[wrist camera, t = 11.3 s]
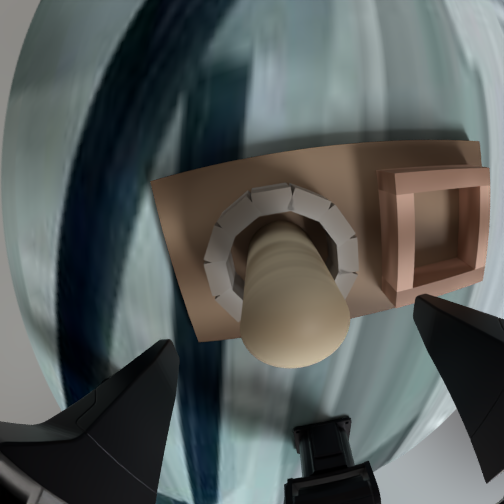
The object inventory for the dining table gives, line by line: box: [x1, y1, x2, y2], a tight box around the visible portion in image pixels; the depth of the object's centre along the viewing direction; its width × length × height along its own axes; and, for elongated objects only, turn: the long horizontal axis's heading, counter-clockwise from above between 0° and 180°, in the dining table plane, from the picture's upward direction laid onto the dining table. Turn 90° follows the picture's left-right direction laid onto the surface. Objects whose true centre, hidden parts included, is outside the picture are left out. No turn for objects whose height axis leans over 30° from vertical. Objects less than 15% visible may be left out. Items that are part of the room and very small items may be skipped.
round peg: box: [240, 221, 350, 368], centre depth 13 cm, size 4×4×8 cm
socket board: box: [150, 140, 490, 342], centre depth 16 cm, size 12×24×4 cm, turn 101°
